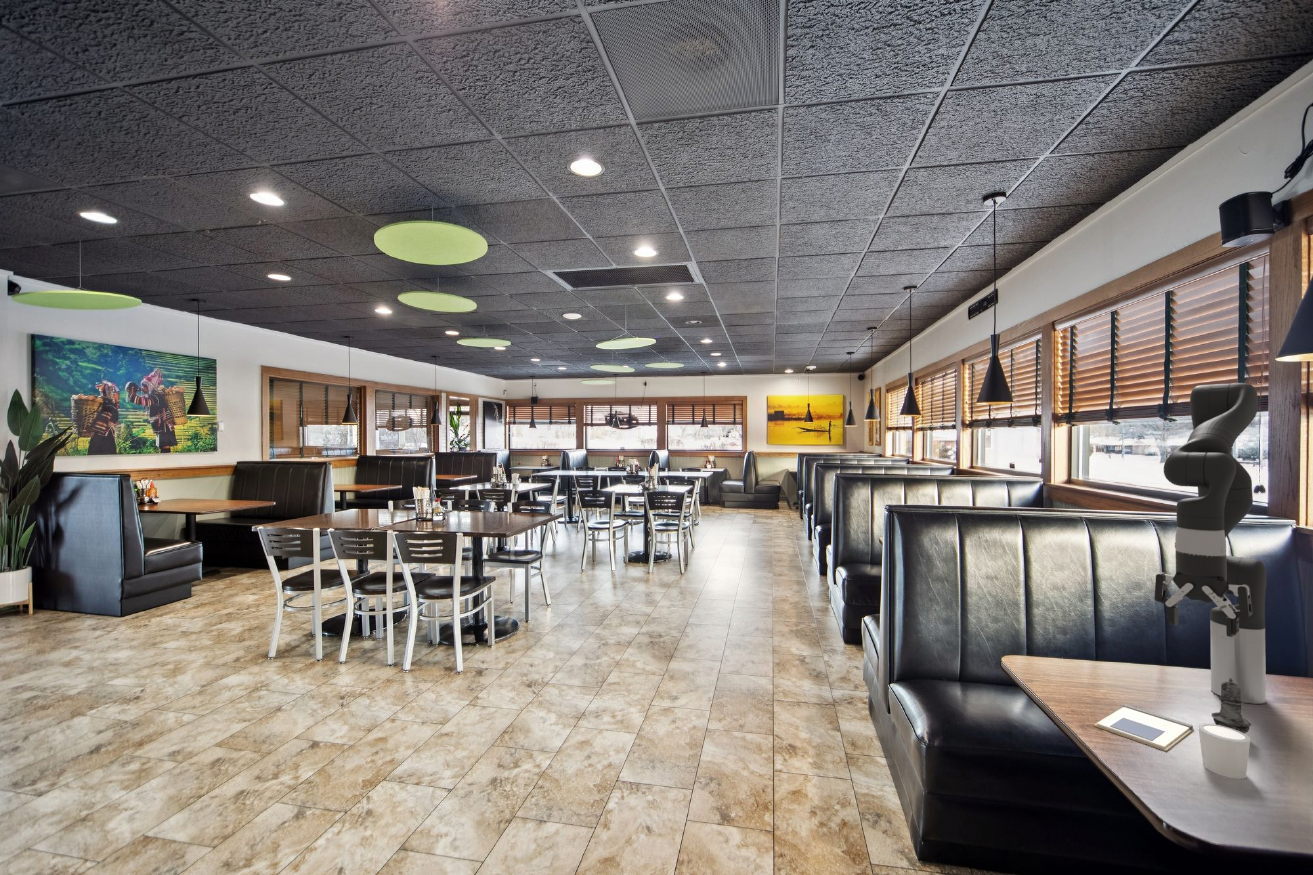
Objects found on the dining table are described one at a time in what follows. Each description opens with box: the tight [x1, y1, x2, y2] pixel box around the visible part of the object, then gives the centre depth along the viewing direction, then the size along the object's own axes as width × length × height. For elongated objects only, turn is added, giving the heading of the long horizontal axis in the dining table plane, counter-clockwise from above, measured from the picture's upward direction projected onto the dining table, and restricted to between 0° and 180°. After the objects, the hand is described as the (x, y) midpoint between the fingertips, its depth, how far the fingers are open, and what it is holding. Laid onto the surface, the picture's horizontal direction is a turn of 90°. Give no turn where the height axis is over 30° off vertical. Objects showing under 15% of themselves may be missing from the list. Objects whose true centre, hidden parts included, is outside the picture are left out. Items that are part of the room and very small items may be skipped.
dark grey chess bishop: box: [1211, 678, 1252, 734], centre depth 118 cm, size 6×6×12 cm
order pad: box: [1093, 703, 1195, 752], centre depth 121 cm, size 16×12×1 cm
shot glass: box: [1197, 723, 1251, 780], centre depth 106 cm, size 7×7×7 cm
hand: (1201, 630), depth 116 cm, fingers open, 8 cm apart
